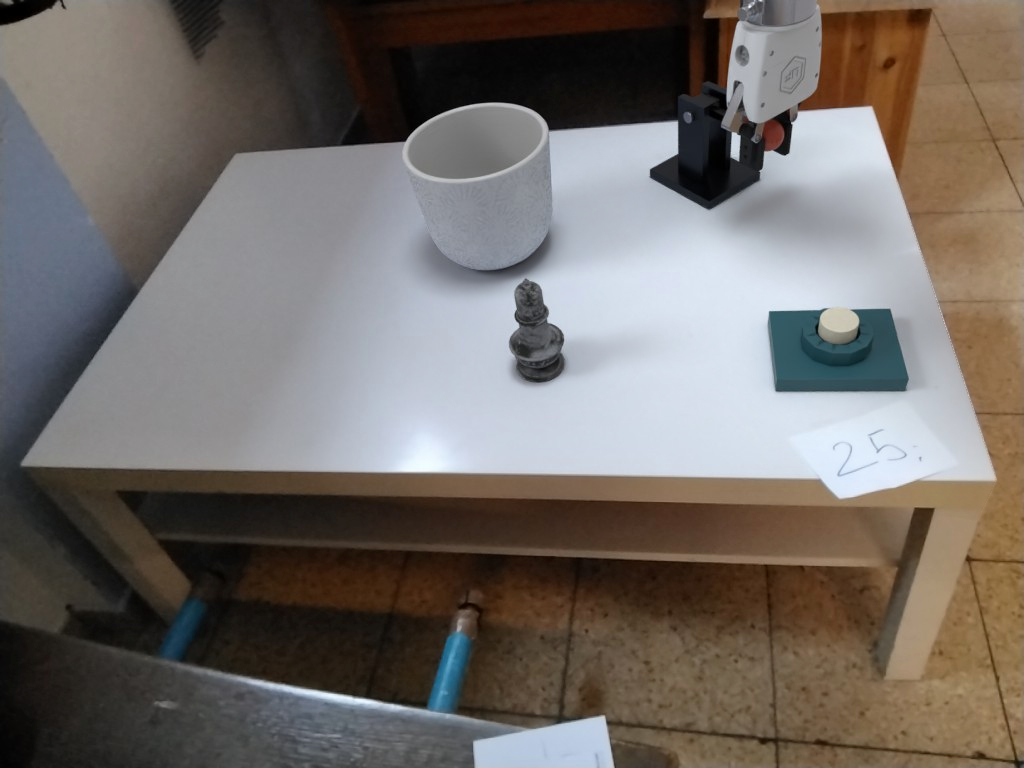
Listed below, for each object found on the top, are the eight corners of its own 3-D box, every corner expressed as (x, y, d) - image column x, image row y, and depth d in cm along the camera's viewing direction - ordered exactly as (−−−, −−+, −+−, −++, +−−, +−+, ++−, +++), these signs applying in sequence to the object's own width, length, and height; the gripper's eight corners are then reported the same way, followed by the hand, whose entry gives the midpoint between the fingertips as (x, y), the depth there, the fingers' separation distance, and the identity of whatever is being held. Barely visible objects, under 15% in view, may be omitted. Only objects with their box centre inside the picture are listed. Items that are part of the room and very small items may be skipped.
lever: (789, 148, 96) (792, 119, 93) (767, 161, 94) (770, 132, 92) (707, 112, 104) (708, 85, 101) (686, 123, 103) (686, 96, 100)
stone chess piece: (569, 344, 91) (557, 257, 82) (566, 383, 87) (553, 297, 78) (516, 346, 92) (499, 261, 83) (510, 385, 88) (492, 299, 79)
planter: (427, 221, 111) (400, 117, 100) (551, 197, 110) (537, 90, 100) (433, 301, 99) (403, 194, 88) (572, 275, 99) (559, 163, 88)
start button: (853, 319, 82) (856, 306, 81) (859, 344, 80) (862, 331, 79) (815, 320, 83) (817, 307, 82) (820, 345, 81) (822, 332, 80)
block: (887, 320, 86) (893, 294, 84) (905, 391, 79) (913, 365, 77) (767, 322, 88) (770, 297, 86) (775, 391, 82) (778, 366, 79)
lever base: (760, 179, 106) (766, 94, 98) (708, 210, 103) (711, 124, 95) (699, 149, 113) (700, 66, 105) (649, 177, 110) (647, 94, 102)
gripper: (747, 42, 79) (736, 202, 92) (863, -19, 84) (838, 141, 98) (691, 21, 84) (689, 176, 97) (805, -35, 89) (788, 119, 102)
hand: (764, 157), depth 97 cm, fingers closed on lever, 3 cm apart
